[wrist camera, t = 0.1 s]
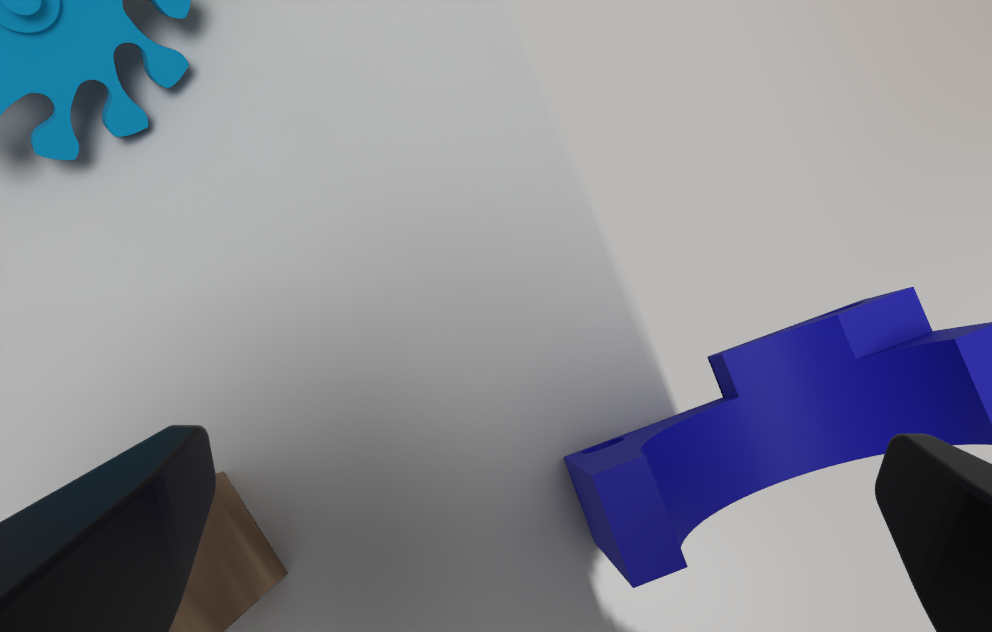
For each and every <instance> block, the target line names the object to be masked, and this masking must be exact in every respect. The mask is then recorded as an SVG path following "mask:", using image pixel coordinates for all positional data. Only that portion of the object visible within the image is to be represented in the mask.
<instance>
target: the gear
mask: <svg viewBox="0 0 992 632" xmlns="http://www.w3.org/2000/svg"><path fill="white" fill-rule="evenodd" d="M122 1H123V0H0V116H1V114H2V113H3V112H4V111H5V110H6V108H7V107H9V106H10V105H11V104H12V103H14V102H15V101H17V100H18V99H20V98H21V97H23V96H24V95H26V94H29V93H40V94H43V95H45V96H47V97H48V98H50V99H51V100H52V102H53V106H54V110H53V114H52V115H51V117H50V118H48V119H47V120H46V121H44V122H43V123H41V124H40V125H38V126H37V127H36V128H35V129H34V130H33V132H32V134H31V145H32V147H33V149H34V151H35V154H38V155H40V156H43V157H46V158H51V159H58V160H75V158H76V157H77V155H78V153H79V144H78V141H77V139H76V137H75V135H74V132H73V129H72V126H71V118H70V113H71V105H72V102H73V98H74V96H75V93H76V91H77V88H78V86H79V85H80V84H81V83H82V82H84V81H86V80H97V81H100V82H102V83H103V84H104V85H105V87H106V89H107V92H108V98H107V101H106V104H105V106H104V109H103V112H102V120H103V123H104V125H105V127H106V128H107V129H108V130H109V131H110V132H111V133H112V134H113V135H114V136H115V137H123V136H128V135H132V134H134V133H137V132H139V131H141V130H143V129H145V128H147V127H148V119H147V116H146V114H145V112H144V111H143V110H142V109H141V108H140V107H139V106H138V105H136V104H135V103H134V102H133V101H132V100H131V99H130V98H129V97H128V96H127V94H126V93H125V91H124V90H123V88H122V86H121V84H120V82H119V80H118V76H117V73H116V69H115V64H114V58H113V54H114V51H115V49H116V47H117V46H118V45H120V44H122V43H126V42H130V43H133V44H135V45H136V46H137V47H138V48H139V49H140V51H141V53H142V56H143V62H144V67H145V71H146V73H147V75H148V76H149V77H150V79H151V80H153V81H154V82H155V83H157V84H159V85H161V86H163V87H165V88H170V87H171V86H173V85H174V84H175V83H176V82H177V81H179V79H180V78H181V77H182V75H183V74H184V73H185V71H186V69H187V68H188V66H189V64H188V62H187V60H186V58H185V57H184V56H183V55H182V54H181V53H179V52H178V51H176V50H173V49H170V48H167V47H163V46H161V45H158V44H156V43H155V42H153V41H152V40H150V39H148V38H147V37H146V36H145V35H144V34H142V33H141V32H140V31H139V29H138V28H137V27H136V26H135V25H134V24H133V22H132V21H131V20H130V18H129V17H128V16H127V15H126V13H125V11H124V9H123V5H122ZM150 1H151V2H152V3H153V5H154V6H155V7H156V8H157V10H158V11H159V12H161V13H162V14H164V15H166V16H169V17H173V18H181V19H182V18H186V16H187V14H188V12H189V8H190V1H191V0H150Z"/></svg>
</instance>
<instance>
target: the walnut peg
mask: <svg viewBox="0 0 992 632" xmlns="http://www.w3.org/2000/svg"><path fill="white" fill-rule="evenodd" d="M215 475H216V490H215V495H214V499H213V502H212V505H211V508H210V512H209V515H208V518H207V521H206V525H205V528H204V531H203V535H202V538H201V541H200V544H199V548H198V551H197V554H196V557H195V561H194V564H193V567H192V571H191V574H190V577H189V580H188V584H187V587H186V590H185V593H184V596H183V599H182V602H181V604H180V606H179V609H178V611H177V614H176V616H175V619H174V621H173V624H172V626H171V628H170V630H169V632H224V631H225V630H226V629H227V628H228V627H229V626H230V625H231V624H232V623H234V622H235V621H236V620H237V619H238V618H239V617H240V616H241V615H242V614H243V613H245V612H246V611H247V610H248V609H249V608H250V607H251V606H252V605H253V604H254V603H256V602H257V601H258V600H259V599H260V598H261V597H262V596H263V595H264V594H265V593H267V592H268V591H269V590H270V589H271V588H272V587H273V586H274V585H275V584H276V583H277V582H279V581H280V580H281V579H282V578H283V577H284V576H285V575H286V574H287V571H286V570H285V568H284V567H283V565H282V563H281V562H280V560H279V559H278V557H277V555H276V554H275V552H274V551H273V549H272V548H271V546H270V544H269V543H268V541H267V540H266V538H265V536H264V535H263V533H262V532H261V530H260V529H259V527H258V525H257V524H256V522H255V521H254V519H253V517H252V516H251V514H250V513H249V511H248V510H247V508H246V506H245V505H244V503H243V502H242V500H241V498H240V497H239V495H238V494H237V492H236V491H235V489H234V487H233V486H232V484H231V483H230V481H229V479H228V478H227V476H226V475H225V473H224V472H220V473H217V474H215Z"/></svg>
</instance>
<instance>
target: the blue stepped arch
mask: <svg viewBox="0 0 992 632" xmlns="http://www.w3.org/2000/svg"><path fill="white" fill-rule="evenodd" d="M707 358H708V360H709V363H710V365H711V368H712V371H713V373H714V376H715V378H716V381H717V383H718V386H719V388H720V391H721V393H722V396H723V397H722V398H720V399H717V400H714V401H712V402H709V403H706V404H704V405H701V406H698V407H695V408H693V409H690V410H687V411H685V412H682V413H679V414H678V415H675V416H673V417H670V418H667V419H665V420H662V421H659V422H657V423H654V424H651V425H649V426H646V427H643V428H641V429H638V430H635V431H633V432H630V433H627V434H624V435H622V436H619V437H616V438H614V439H611V440H608V441H606V442H603V443H600V444H598V445H595V446H592V447H590V448H587V449H584V450H581V451H579V452H576V453H573V454H571V455H568V456H565V457H564V460H565V463H566V466H567V468H568V471H569V474H570V476H571V479H572V482H573V485H574V487H575V490H576V493H577V496H578V498H579V501H580V504H581V507H582V509H583V512H584V515H585V518H586V520H587V523H588V526H589V528H590V531H591V534H592V537H593V539H594V542H595V543H596V545H597V546H598V547H599V548H600V549H601V550H602V552H603V553H604V554H605V555H606V556H607V558H608V559H609V560H610V561H611V562H612V563H613V565H614V566H615V567H616V568H617V569H618V571H619V572H620V573H621V574H622V575H623V576H624V578H625V579H626V580H627V581H628V582H629V583H630V585H631V586H632V587H633V588H635V587H637V586H640V585H643V584H645V583H648V582H650V581H653V580H655V579H658V578H661V577H663V576H666V575H668V574H671V573H673V572H676V571H679V570H681V569H684V568H686V567H687V564H686V561H685V559H684V556H683V554H682V551H681V545H682V543H683V541H684V539H685V538H686V537H687V536H688V534H689V533H690V532H691V531H692V530H693V529H694V528H695V527H696V526H698V525H699V524H700V523H701V522H702V521H703V520H705V519H707V518H708V517H709V516H711V515H713V514H714V513H716V512H717V511H719V510H721V509H722V508H724V507H726V506H728V505H729V504H732V503H733V502H735V501H737V500H739V499H741V498H743V497H746V496H748V495H750V494H752V493H754V492H757V491H759V490H762V489H764V488H766V487H769V486H772V485H774V484H777V483H779V482H782V481H785V480H788V479H791V478H794V477H796V476H800V475H803V474H806V473H809V472H812V471H815V470H819V469H822V468H826V467H829V466H833V465H837V464H841V463H845V462H849V461H853V460H857V459H862V458H866V457H871V456H876V455H881V454H885V452H886V449H887V446H888V443H889V441H890V440H891V438H892V437H893V436H895V435H897V434H928V435H931V436H933V437H936V438H938V439H940V440H942V441H944V442H946V443H948V444H950V445H967V444H988V445H992V322H990V323H983V324H977V325H970V326H964V327H957V328H950V329H944V330H938V331H932V329H931V327H930V325H929V322H928V320H927V318H926V315H925V313H924V311H923V308H922V306H921V304H920V301H919V299H918V296H917V294H916V292H915V290H914V287H911V288H906V289H903V290H899V291H895V292H891V293H888V294H883V295H880V296H876V297H872V298H868V299H864V300H861V301H858V302H855V303H852V304H850V305H847V306H844V307H842V308H839V309H836V310H833V311H831V312H828V313H826V314H823V315H820V316H817V317H814V318H812V319H809V320H806V321H804V322H801V323H798V324H795V325H793V326H790V327H787V328H785V329H782V330H779V331H776V332H774V333H771V334H768V335H765V336H763V337H760V338H757V339H754V340H752V341H749V342H746V343H744V344H741V345H738V346H735V347H733V348H730V349H727V350H725V351H722V352H719V353H716V354H714V355H711V356H708V357H707Z"/></svg>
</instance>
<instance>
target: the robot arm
mask: <svg viewBox="0 0 992 632" xmlns="http://www.w3.org/2000/svg"><path fill="white" fill-rule="evenodd" d="M215 490H216V475H215V469H214V464H213V458H212V453H211V447H210V442H209V437H208V433H207V431H206V429H205V428H203V427H202V426H200V425H172V426H169V427H167V428H165V429H163V430H162V431H160V432H158V433H156V434H155V435H153V436H151V437H149V438H148V439H146V440H144V441H142V442H140V443H139V444H137V445H135V446H133V447H132V448H130V449H128V450H126V451H125V452H123V453H121V454H119V455H118V456H116V457H114V458H112V459H111V460H109V461H107V462H105V463H104V464H102V465H100V466H98V467H96V468H95V469H93V470H91V471H89V472H88V473H86V474H84V475H82V476H81V477H79V478H77V479H75V480H74V481H72V482H70V483H68V484H67V485H65V486H63V487H61V488H60V489H58V490H56V491H54V492H53V493H51V494H49V495H47V496H45V497H44V498H42V499H40V500H38V501H37V502H35V503H33V504H31V505H30V506H28V507H26V508H24V509H23V510H21V511H19V512H17V513H16V514H14V515H12V516H10V517H9V518H7V519H5V520H3V521H1V522H0V632H169V630H170V628H171V626H172V624H173V621H174V619H175V616H176V614H177V611H178V609H179V606H180V604H181V602H182V599H183V596H184V593H185V590H186V587H187V584H188V580H189V577H190V574H191V571H192V567H193V564H194V561H195V557H196V554H197V551H198V548H199V544H200V541H201V538H202V535H203V531H204V528H205V525H206V521H207V518H208V515H209V512H210V508H211V505H212V502H213V499H214V495H215ZM875 495H876V500H877V503H878V505H879V507H880V510H881V512H882V515H883V517H884V519H885V521H886V524H887V526H888V528H889V531H890V533H891V535H892V538H893V540H894V542H895V545H896V547H897V549H898V551H899V554H900V556H901V559H902V561H903V563H904V565H905V568H906V570H907V572H908V575H909V577H910V579H911V582H912V584H913V586H914V589H915V590H916V592H917V595H918V597H919V599H920V601H921V603H922V605H923V607H924V609H925V611H926V613H927V615H928V617H929V619H930V621H931V623H932V624H933V626H934V628H935V630H936V632H992V464H990V463H988V462H986V461H984V460H982V459H980V458H978V457H976V456H974V455H971V454H969V453H967V452H965V451H963V450H961V449H959V448H956V447H955V446H952V445H950V444H948V443H946V442H944V441H942V440H940V439H938V438H936V437H933V436H931V435H928V434H897V435H895V436H893V437H892V438H891V440H890V441H889V443H888V446H887V449H886V452H885V455H884V458H883V461H882V464H881V467H880V470H879V473H878V477H877V479H876V484H875Z"/></svg>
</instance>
